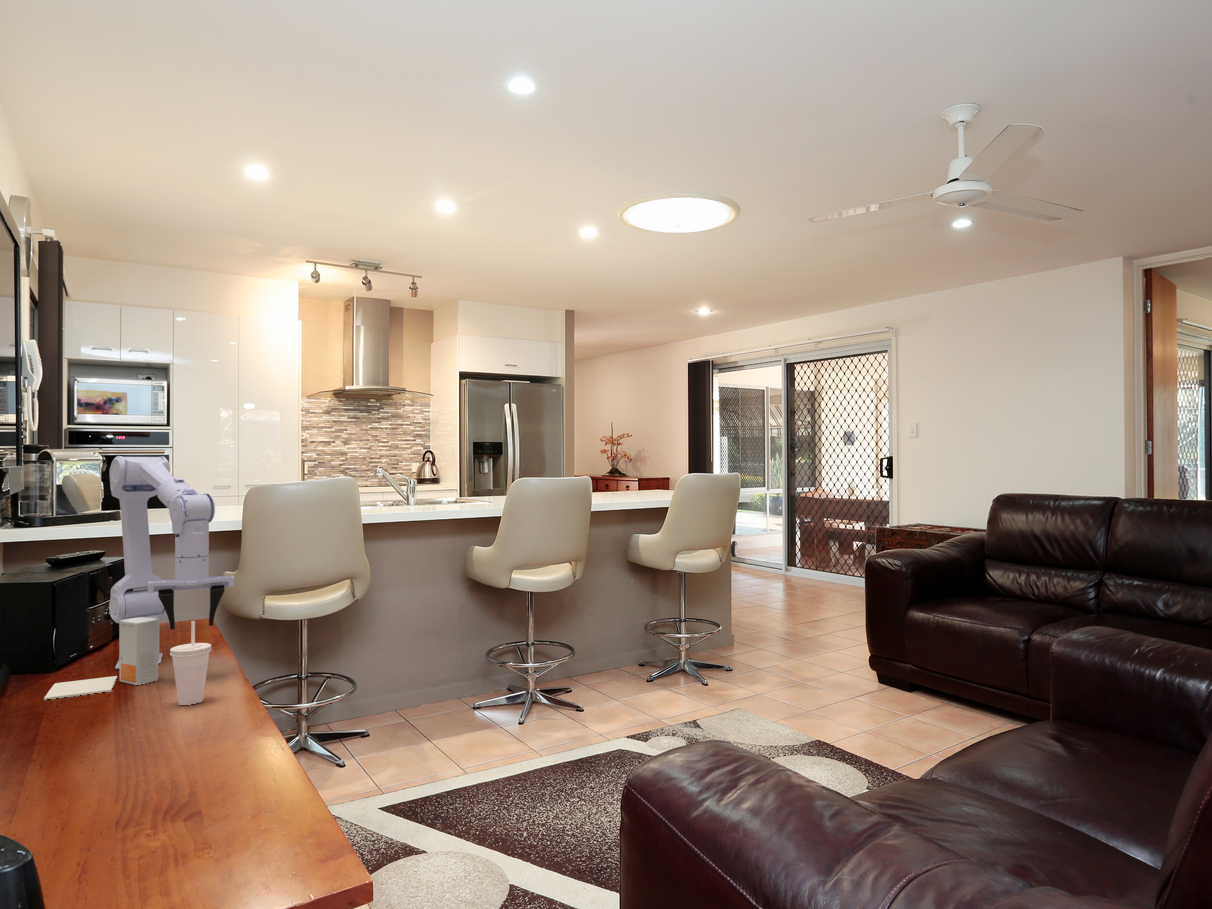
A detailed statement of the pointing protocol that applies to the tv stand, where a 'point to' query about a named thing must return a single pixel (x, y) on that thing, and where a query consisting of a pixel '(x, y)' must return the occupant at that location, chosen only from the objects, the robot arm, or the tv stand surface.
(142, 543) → the robot arm
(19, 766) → the tv stand surface
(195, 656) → the smoothie
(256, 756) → the tv stand surface
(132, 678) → the skincare box
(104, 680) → the felt mat
